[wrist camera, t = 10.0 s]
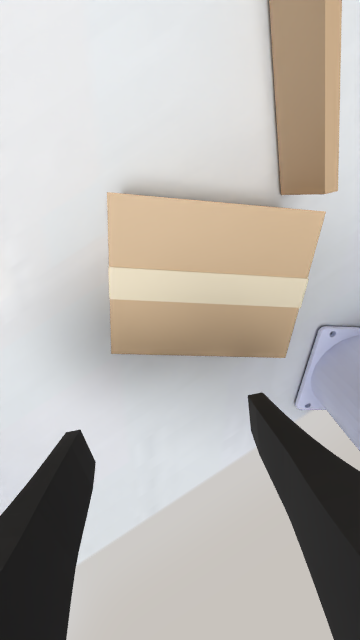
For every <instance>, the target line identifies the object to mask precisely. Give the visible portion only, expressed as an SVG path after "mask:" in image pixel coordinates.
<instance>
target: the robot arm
mask: <svg viewBox="0 0 360 640" xmlns="http://www.w3.org/2000/svg"><path fill="white" fill-rule="evenodd" d="M332 331H333V333H332V334H331V335H330V333H331V332H332ZM248 403H249V414H250V424H251V432H252V434H253V437H254V440H255V443H256V446H257V449H258V451H259V454H260V456H261V459H262V461H263V463H264V465H265V467H266V469H267V471H268V473H269V475H270V478H271V480H272V482H273V484H274V486H275V488H276V490H277V492H278V494H279V497H280V499H281V501H282V503H283V505H284V507H285V509H286V512H287V514H288V516H289V519H290V521H291V523H292V526H293V528H294V531H295V534H296V536H297V539H298V541H299V544H300V547H301V550H302V552H303V555H304V558H305V560H306V563H307V566H308V568H309V571H310V574H311V577H312V579H313V582H314V584H315V587H316V590H317V593H318V596H319V598H320V602H321V604H322V607H323V610H324V613H325V616H326V618H327V621H328V624H329V627H330V629H331V633H332V636H333V638H334V640H360V471H358V470H357V469H355V468H354V467H352V466H351V465H349V464H348V463H346V462H345V461H343V460H342V459H340V458H339V457H337V456H336V455H334V454H333V453H332V452H330V451H329V450H328V449H326V448H325V447H324V446H322V445H321V444H320V443H319V442H317V441H316V440H314V439H313V438H312V437H311V436H310V435H308V434H307V433H306V432H305V431H304V430H302V429H301V428H300V427H299V426H298V425H297V424H295V423H294V422H293V421H292V420H291V419H290V418H289V417H287V416H286V415H285V414H284V413H283V412H282V411H281V410H280V409H279V408H278V407H277V406H276V405H275V404H274V403H273V402H272V401H271V400H270V399H269V398H268V397H267V396H266V395H265V394H263V393H257V394H252V395H248ZM307 403H308V404H307ZM295 405H296V407H297V408H298V409H300V410H327V411H328V412H329V414H330V415H331V416H332V417H333V418H334V420H335V421H336V422H337V424H338V425H339V426H340V427H341V429H342V430H343V431H344V432H345V433H346V435H347V436H348V437H349V438H350V440H351V441H352V442H353V443H354V445H355V446H356V447H357V448H358V450H359V451H360V327H335V326H324V327H322V328H320V329H319V331H318V334H317V337H316V340H315V343H314V346H313V349H312V352H311V355H310V358H309V362H308V365H307V368H306V371H305V374H304V377H303V380H302V383H301V386H300V390H299V393H298V396H297V399H296V402H295ZM95 463H96V462H95V460H94V458H93V456H92V454H91V451H90V449H89V447H88V445H87V443H86V441H85V438H84V436H83V434H82V432H81V430H76V431H71V432H66V433H65V435H64V436H63V437H62V439H61V440H60V441H59V443H58V444H57V445H56V447H55V448H54V449H53V451H52V452H51V453H50V455H49V456H48V457H47V459H46V460H45V461H44V463H43V464H42V465H41V467H40V468H39V469H38V470H37V472H36V473H35V474H34V476H33V477H32V478H31V480H30V481H29V482H28V483H27V485H26V486H25V487H24V488H23V489H22V491H21V492H20V493H19V494H18V495H17V497H16V498H15V499H14V500H13V502H12V503H11V504H10V505H9V506H8V508H7V509H6V510H5V511H4V512H3V513H2V515H1V516H0V640H66V636H67V628H68V620H69V612H70V604H71V596H72V589H73V582H74V574H75V568H76V562H77V557H78V552H79V548H80V543H81V539H82V534H83V530H84V526H85V521H86V517H87V513H88V508H89V504H90V499H91V494H92V490H93V482H94V473H95Z"/></svg>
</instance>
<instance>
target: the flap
mask: <svg viewBox="0 0 360 640" xmlns="http://www.w3.org/2000/svg"><path fill="white" fill-rule="evenodd" d="M269 6H270V22H271V38H272V54H273V71H274V87H275V103H276V120H277V136H278V152H279V169H280V185H281V195H301V194H327V193H331V192H335V191H338V159H339V110H340V62H341V13H342V0H269Z"/></svg>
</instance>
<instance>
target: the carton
mask: <svg viewBox="0 0 360 640" xmlns="http://www.w3.org/2000/svg"><path fill="white" fill-rule="evenodd" d="M107 207H108V246H109V267H108V275H109V299H110V323H111V354H146V355H188V356H230V357H273V358H285V357H286V353H287V350H288V346H289V342H290V339H291V335H292V332H293V328H294V324H295V321H296V317H297V314H298V310H299V308H301V305H302V301H303V297H304V294H305V290H306V287H307V283H308V280H309V279H308V274H309V271H310V267H311V263H312V260H313V256H314V253H315V249H316V246H317V242H318V238H319V235H320V231H321V228H322V224H323V220H324V217H325V213H326V212H324V211H312V210H301V209H290V208H279V207H267V206H256V205H245V204H233V203H222V202H211V201H200V200H188V199H177V198H166V197H154V196H143V195H132V194H121V193H109V192H107Z"/></svg>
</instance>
